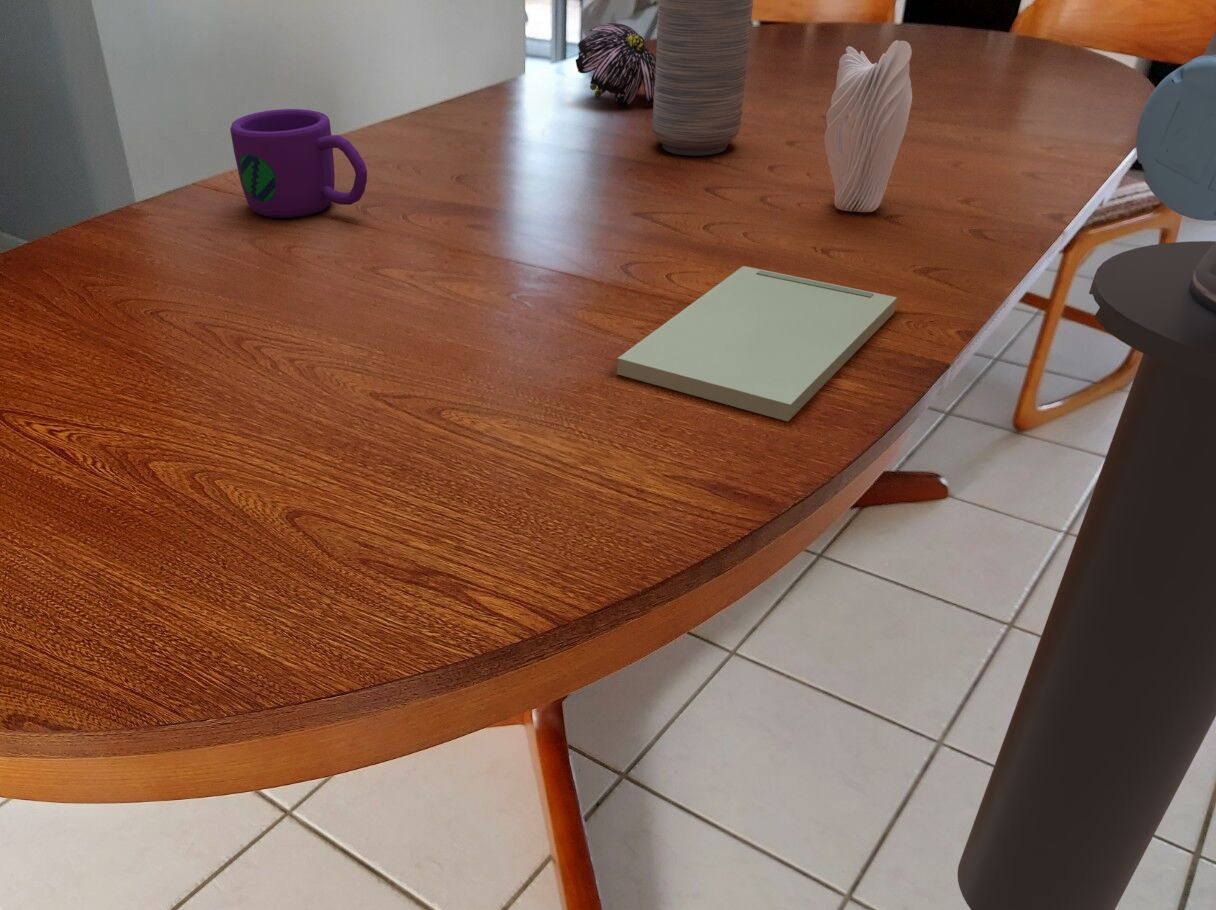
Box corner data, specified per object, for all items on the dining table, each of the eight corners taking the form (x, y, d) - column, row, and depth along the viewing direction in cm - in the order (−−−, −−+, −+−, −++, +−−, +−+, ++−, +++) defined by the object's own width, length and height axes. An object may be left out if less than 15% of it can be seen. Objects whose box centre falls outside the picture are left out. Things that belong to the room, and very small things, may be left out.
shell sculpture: (819, 194, 122) (844, 26, 111) (893, 200, 119) (925, 28, 109) (810, 217, 116) (835, 41, 105) (888, 223, 113) (921, 43, 103)
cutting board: (741, 280, 101) (743, 264, 100) (894, 312, 94) (897, 295, 93) (616, 374, 86) (617, 356, 85) (788, 422, 79) (791, 402, 78)
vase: (656, 160, 135) (667, -40, 122) (646, 137, 145) (655, -51, 131) (745, 157, 135) (766, -43, 122) (730, 134, 144) (748, -55, 131)
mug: (224, 214, 123) (208, 126, 117) (286, 187, 131) (273, 104, 125) (340, 235, 116) (329, 143, 110) (398, 206, 124) (391, 118, 118)
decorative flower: (617, 46, 148) (576, -1, 157) (585, 122, 156) (547, 73, 164) (696, 64, 155) (653, 18, 164) (662, 136, 163) (622, 89, 171)
